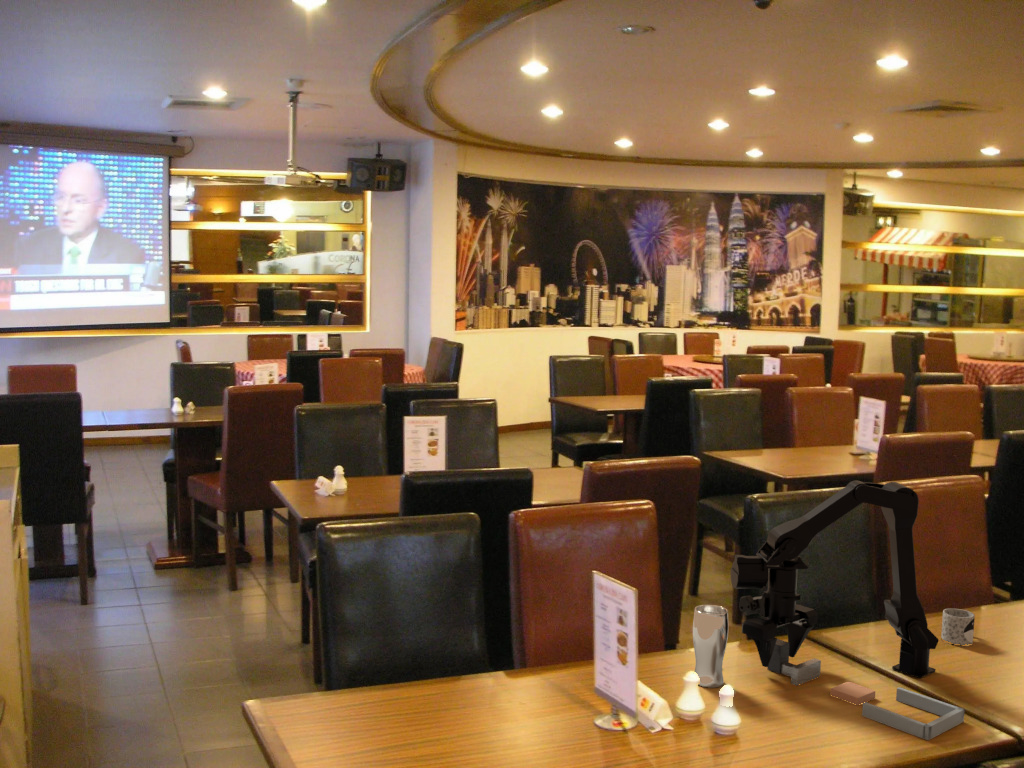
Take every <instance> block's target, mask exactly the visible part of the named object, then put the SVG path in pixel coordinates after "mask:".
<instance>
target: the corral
mask: <svg viewBox="0 0 1024 768" xmlns="http://www.w3.org/2000/svg"><path fill="white" fill-rule="evenodd" d="M895 694H896V695H895V696H896V697H895V701H897V702H900V703H903V704H906V705H908V706H911V707H914V708H916V709H917V708H918V709H920V710H923V711H926V712H929V713H931V714H934V715H936V716H940V717H937V718H935V719H934V720H932V721H930V722H928V723H924V722H921V721H919V720H916V719H913V718H911V717H908V716H906V715H902V714H900V713H897V712H894V711H891V710H889V709H886V708H883V707H881V706H877V705H875V704H872V703H869V702H865V703H863V704H862V713H861V714H862V715H861V716H862V717H864V716H865V718H866V719H869V720H872V721H875V722H878V723H881V724H882V725H886V726H888V727H891V728H894V729H896V730H899V731H902V732H904V733H907V734H910V735H913V736H914V737H917V738H920V739H923V740H926V741H930V740H932V739H934V738H936V737H937V736H939V735H942V734H943V733H945V732H947V731H949V730H952V729H953V728H955V727H956V726H959V725H960V724H962V723H964V722H965V710H966V709H965V708H963V707H960V706H956V705H954V704H953V705H952V704H950V703H947V702H944V701H941V700H938V699H936V698H932V697H930V696H927V695H924V694H920V693H917V692H915V691H912V690H909V689H905V688H903V687H897V688H896V693H895Z"/></svg>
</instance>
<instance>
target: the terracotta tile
mask: <svg viewBox="0 0 1024 768" xmlns="http://www.w3.org/2000/svg"><path fill="white" fill-rule="evenodd" d="M830 695H832V696H835V697H838V698H840V699H843V700H846V701H848V702H851V703H854V704H856V705H859V704H861V703H864V702H867V701H869V702H871V701H873V700H875V699H876V690H874V689H872V688H869V687H866V686H863V685H860V684H857V683H854V682H852V681H846V682H844V683H840V684H837V685H836V686H833V687H831V688H830ZM832 696H831V697H832ZM835 697H834V698H835ZM874 698H875V699H874ZM840 699H839V700H840ZM872 699H873V700H872ZM843 700H842V701H843ZM870 700H871V701H870ZM848 702H847V703H848ZM851 703H850V704H851ZM867 703H868V702H867ZM856 705H855V706H856ZM859 706H860V705H859Z"/></svg>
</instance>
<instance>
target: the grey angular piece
mask: <svg viewBox="0 0 1024 768" xmlns="http://www.w3.org/2000/svg"><path fill="white" fill-rule="evenodd" d="M789 644H790V643H789V642H788V641H786V640H784V639H783V640H782V639H780V638H777V641H776V644H775V647H774V650H773V653H772V656H771V659H770V662H769V665H768V667H766V668H767V670H768V671H770V672H772V673H776V674H779V675H780V674H782V675H784V676H787V677H790V684H791V685H793V686H796V687H798V686H800V685H799V684H801V685H803V684H806V683H807V681H808V682H810V681H809V680H811V681H812V679H813V680H816V679H818V678H820V677H821V668H822V666H821V665H822V660H821V659H818V658H812V659H809V660H806V661H803V662H801V663H798V664H794V663H791V662H789V660H790V659H789V658H790V656H789ZM819 676H820V677H819ZM817 677H818V678H817ZM815 678H816V679H815ZM805 682H806V683H805ZM802 683H803V684H802ZM797 685H798V686H797Z"/></svg>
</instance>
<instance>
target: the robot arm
mask: <svg viewBox="0 0 1024 768" xmlns="http://www.w3.org/2000/svg"><path fill="white" fill-rule="evenodd" d="M919 502H920V499H919V495H918V494H917V492H916V491H914V489H912V488H910V487H908V486H905V485H904V484H902V483H900V482H896V481H890V482H886V483H885V484H882V483H877V482H865V481H860V480H852V481H849V482H848V484H847V485H846V486H845V487H843V488H842V489H840V490H839V491H837V492H836V493H834V494H833V495H831V496H830V497H829V498H827V499H826V500H825V501H823V502H822V503H819V505H817V506H816V507H814V508H813V509H812V510H811V509H810V511H809V512H807V513H806V514H804V515H802V516H801V517H798V518H795V519H792V520H789V521H788V520H787V521H785V522H783V523H781V524H779V525H777V526H774V527H772V528H771V530H769V531H768V533H767V539H766V540H765V542H764V543H763V544H762V545H761V547H760V548H759V549H758V551H757V552H756V553H755V555H744V554H735V555H734V561H733V562H732V565H731V567H730V581H731V585H732V588H733V589H737V590H738V589H739V590H740V589H743V590H744V589H745V590H748V589H749V590H750V589H751V590H754V589H755V590H756V589H757V590H759V589H760V590H761V589H763V587H766V586H767V590H765V591H763V592H762V594H761V596H759V595H758V596H754V597H752V595H744V596H741V597H740V598H739V606H738V607H739V610H740V612H741V613H744V614H745V616H750V615H754V614H759V617H758V616H754V617H751V618H748V619H745V620H744V621H742V624H741V633H742V634H743V635H746V636H747V637H748V638H751V639H752V641H753V642H754V644H755V646H756V649H757V652H758V656H759V659H760V662H761V666H762V667H764V668H768V665H769V662H770V659H771V656H772V653H773V650H774V647H775V644H776V641H777V639H778V637H776V635H777V634H778V628H780V627H784V626H785V629H786V630H787V642H789V643H790V644H789V658H792V659H793V658H795V656H796V655H797V653H798V651H799V649H800V648H801V646H802V644H803V642H804V641H805V639H806V638H807V636H808V635H809V633H810V631H811V630H812V629H813V628H814V627H815V626H814V625H816V624H818V620H819V619H818V617H819V615H818V613H817V611H816V609H814V608H811V607H807V606H805V605H801V604H797V601H799V600H801V594H800V593H797V588H798V587H797V584H798V583H797V582H798V570H808V569H809V566H808V564H806V563H805V562H804V561H803V559H802V557H801V556H800V555H801V554H802V553H803V552H805V550H806V549H807V548H808V547H809V546H810V544H811V543H812V541H813V539H815V537H816V536H817V535H818V534H820V533H821V532H822V531H824V530H826V529H827V528H828V527H830V526H831V525H832V524H834V523H835V522H837V521H838V520H840V519H841V518H843V517H844V516H845V515H847V514H849V513H850V512H851V511H854V509H856V508H857V507H859V506H861V505H862V504H870V505H874V506H876V507H877V506H878V507H880V509H881V512H882V514H883V518H884V519H885V521H886V523H887V526H888V533H889V547H890V559H891V562H890V563H891V574H892V587H893V588H892V589H893V592H892V595H891V598H890V599H884V600H883V604H884V609H885V614H884V619H886V620H887V621H888V623H889V625H890V626H891V628H893V629H894V631H895V634H896V636H898V637H900V646H899V647H900V648H899V661H898V663H897V664H895V665H892V666H891V667H892V668H891V669H892V670H894V671H898V672H901V673H903V674H906V675H909V676H912V677H916V678H919V679H921V678H924V677H926V676H929V675H930V674H933V673H935V672H936V668H934V667H931V666H930V654H931V653H930V652H931V651H930V650H936V648H937V646H938V643H939V641H940V640H939V638H938V637H937V636H936V635H935V634H934V633H933V632H932V631H931V630H930V629H929V628H928V620H927V617H926V612H925V609H924V607H923V605H922V602H921V599H920V598H919V594H918V585H917V573H916V559H915V547H914V532H913V528H914V525H915V522H916V520H917V517H918V513H919V504H920V503H919ZM760 617H762V618H760ZM765 618H767V619H765Z"/></svg>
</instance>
